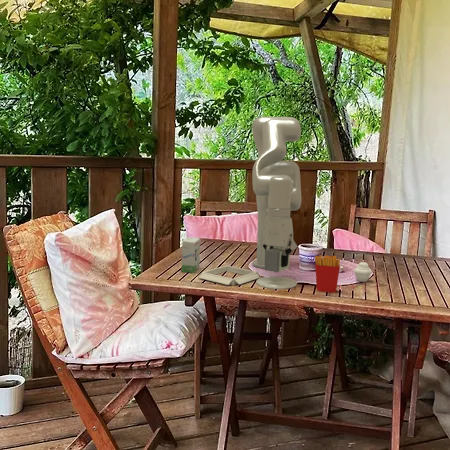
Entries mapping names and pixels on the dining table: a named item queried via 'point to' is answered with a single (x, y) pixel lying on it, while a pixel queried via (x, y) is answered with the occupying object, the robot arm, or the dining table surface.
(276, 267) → the block
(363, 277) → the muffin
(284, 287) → the cream round plate
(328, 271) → the french fries
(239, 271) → the beige square frame
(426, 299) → the dining table surface
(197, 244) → the ink box
